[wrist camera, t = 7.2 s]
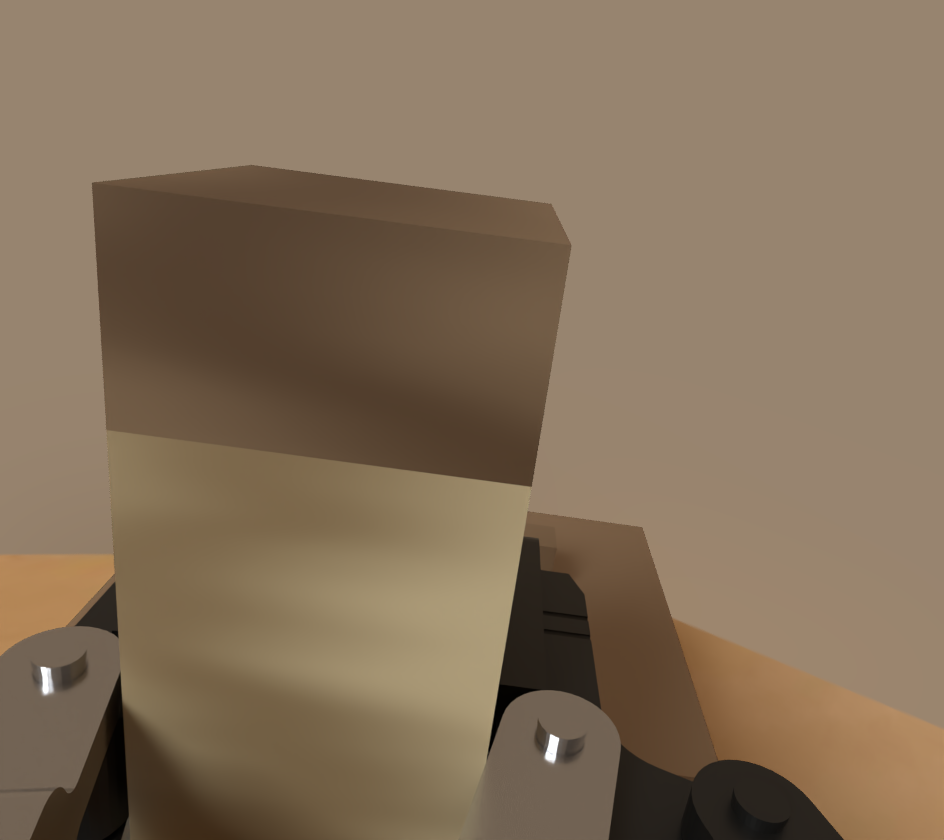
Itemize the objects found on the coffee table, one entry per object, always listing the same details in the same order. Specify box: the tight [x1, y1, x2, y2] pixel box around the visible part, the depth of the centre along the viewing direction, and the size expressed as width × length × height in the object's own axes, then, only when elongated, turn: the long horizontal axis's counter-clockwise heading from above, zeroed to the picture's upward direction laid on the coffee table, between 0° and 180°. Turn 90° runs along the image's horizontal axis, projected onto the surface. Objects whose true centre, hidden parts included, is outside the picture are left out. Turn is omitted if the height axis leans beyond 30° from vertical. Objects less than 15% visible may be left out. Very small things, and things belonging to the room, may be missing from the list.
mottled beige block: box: [92, 165, 571, 840], centre depth 10 cm, size 4×4×16 cm
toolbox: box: [66, 512, 718, 781], centre depth 22 cm, size 15×11×10 cm
